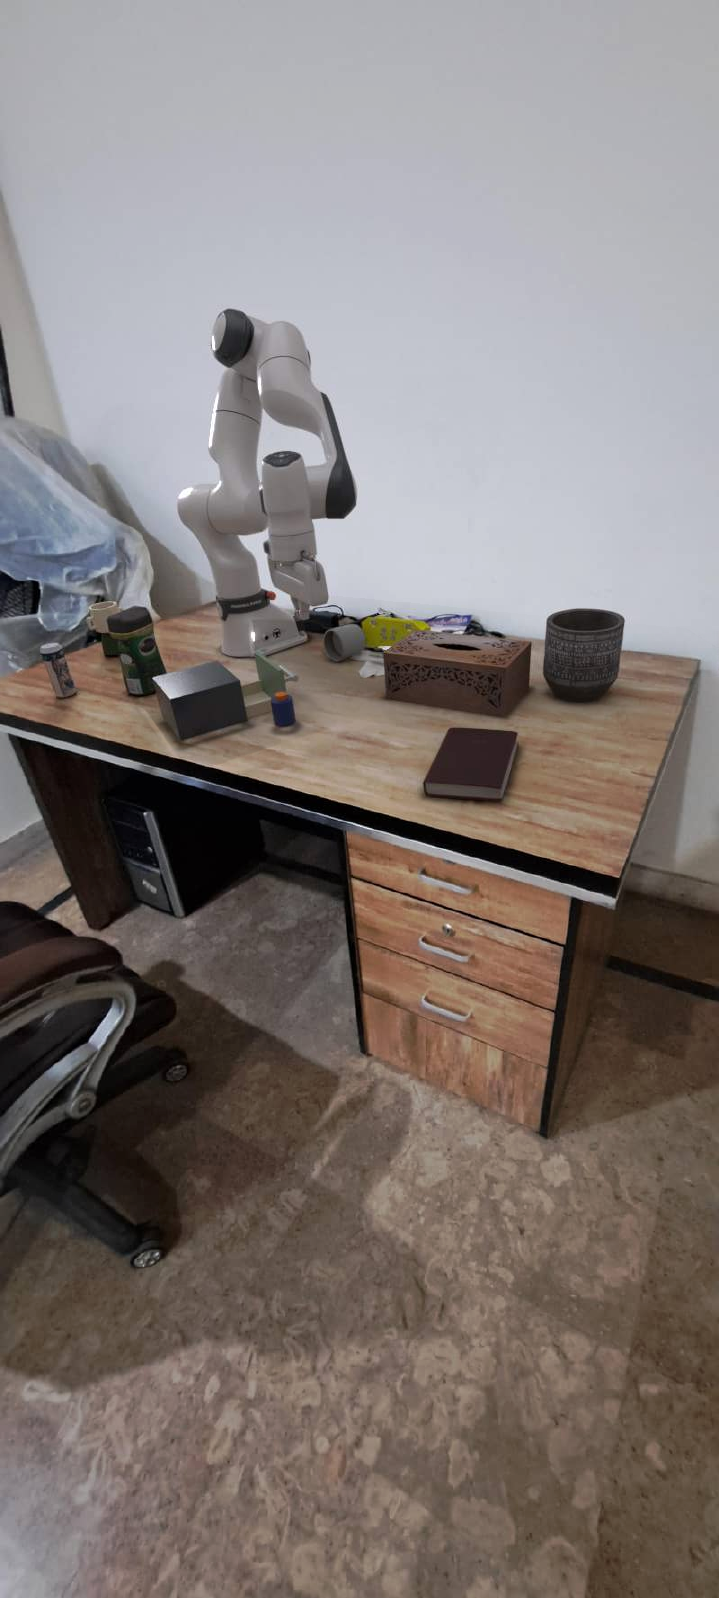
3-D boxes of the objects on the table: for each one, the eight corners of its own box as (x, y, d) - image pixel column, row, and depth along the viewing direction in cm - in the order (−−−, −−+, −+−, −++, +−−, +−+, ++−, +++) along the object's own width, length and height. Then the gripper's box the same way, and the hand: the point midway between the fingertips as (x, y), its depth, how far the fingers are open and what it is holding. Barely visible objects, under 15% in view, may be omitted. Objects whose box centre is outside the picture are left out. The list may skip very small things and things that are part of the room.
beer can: (69, 698, 156) (52, 648, 149) (51, 698, 157) (34, 649, 150) (81, 690, 160) (64, 641, 153) (63, 690, 161) (46, 641, 154)
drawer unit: (226, 704, 145) (217, 660, 140) (249, 727, 135) (240, 680, 129) (164, 722, 140) (151, 677, 135) (182, 747, 130) (170, 699, 124)
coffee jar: (151, 678, 162) (130, 601, 152) (175, 683, 158) (155, 604, 148) (120, 694, 155) (97, 615, 145) (145, 699, 152) (122, 618, 142)
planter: (528, 697, 135) (531, 624, 127) (563, 673, 144) (569, 603, 136) (594, 713, 127) (603, 637, 119) (628, 687, 135) (638, 614, 127)
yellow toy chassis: (363, 650, 166) (360, 617, 161) (375, 642, 170) (372, 609, 165) (420, 658, 158) (419, 623, 154) (431, 650, 162) (430, 616, 158)
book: (422, 796, 108) (422, 779, 106) (448, 740, 123) (448, 724, 121) (501, 805, 104) (502, 787, 102) (518, 745, 119) (519, 729, 117)
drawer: (282, 686, 150) (275, 646, 145) (308, 707, 139) (302, 663, 134) (205, 708, 143) (195, 666, 138) (226, 731, 133) (217, 687, 128)
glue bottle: (291, 721, 135) (285, 687, 131) (300, 729, 132) (295, 694, 128) (272, 727, 134) (266, 693, 130) (280, 735, 130) (274, 700, 126)
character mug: (126, 644, 185) (112, 597, 178) (141, 649, 181) (128, 600, 174) (91, 658, 179) (76, 609, 172) (106, 662, 175) (91, 613, 168)
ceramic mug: (369, 654, 163) (367, 622, 159) (344, 664, 159) (341, 632, 155) (341, 646, 170) (337, 616, 166) (316, 656, 166) (312, 625, 162)
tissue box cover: (529, 688, 139) (531, 641, 134) (504, 717, 129) (506, 667, 123) (416, 672, 151) (415, 629, 146) (386, 698, 141) (383, 652, 135)
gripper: (332, 552, 122) (339, 626, 130) (287, 536, 138) (296, 603, 145) (300, 559, 120) (310, 634, 128) (259, 542, 136) (269, 610, 143)
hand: (302, 618), depth 137 cm, fingers closed
